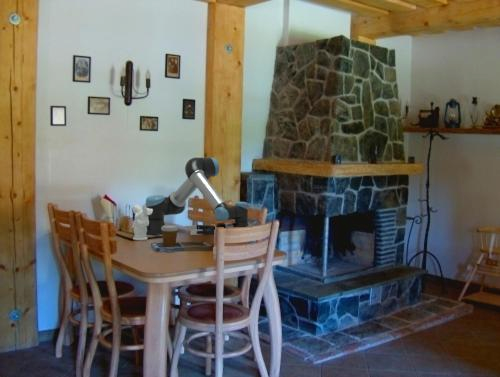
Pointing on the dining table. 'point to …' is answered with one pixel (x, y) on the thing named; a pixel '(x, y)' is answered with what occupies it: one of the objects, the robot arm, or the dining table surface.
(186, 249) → the two-bay frame
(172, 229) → the disposable coffee cup
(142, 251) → the dining table surface
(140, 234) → the cherub figurine
